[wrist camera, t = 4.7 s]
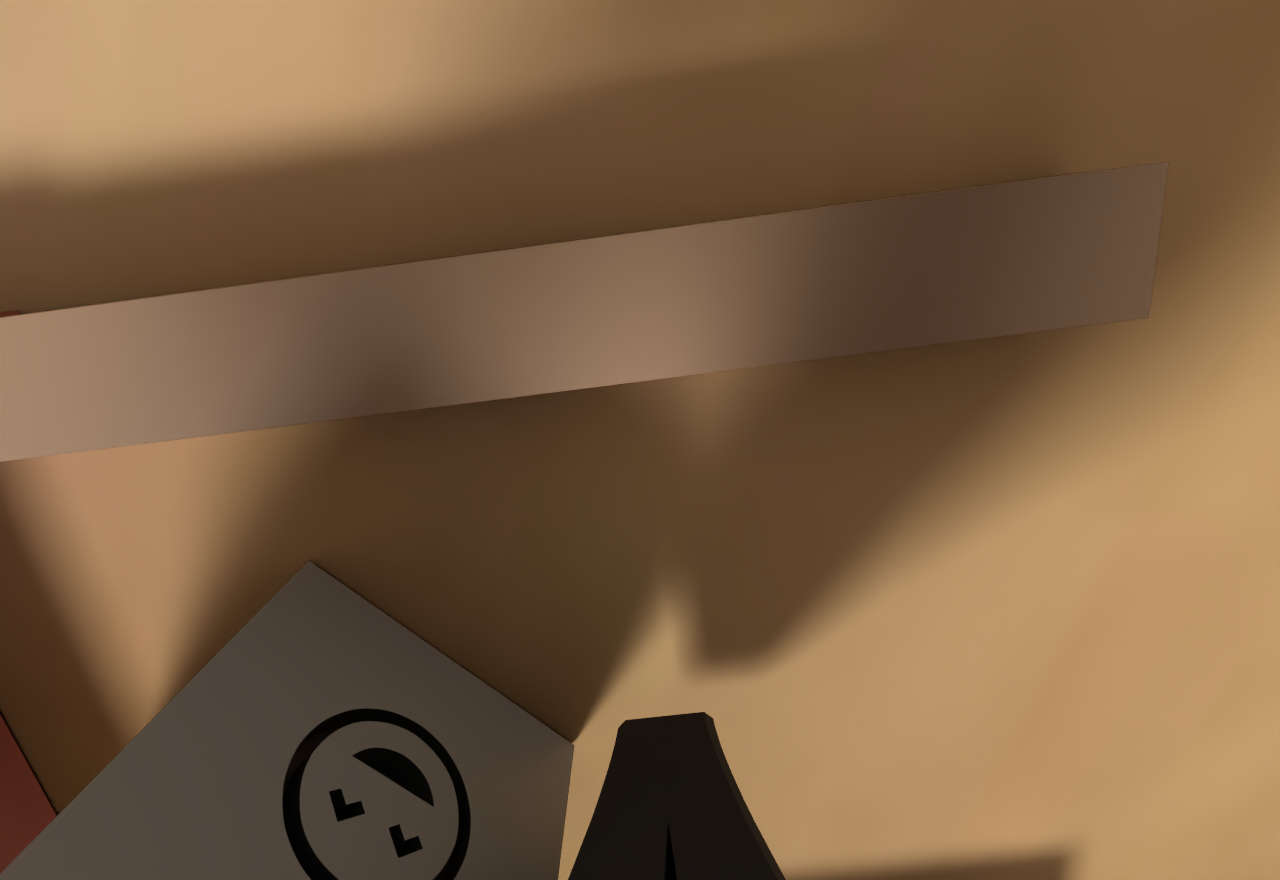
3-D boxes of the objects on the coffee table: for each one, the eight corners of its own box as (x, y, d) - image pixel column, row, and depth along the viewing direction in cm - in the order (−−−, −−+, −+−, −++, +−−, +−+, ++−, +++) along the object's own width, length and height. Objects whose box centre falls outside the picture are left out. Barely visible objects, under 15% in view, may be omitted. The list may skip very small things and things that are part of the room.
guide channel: (1068, 168, 7) (1332, 134, 5) (1001, 971, 12) (1116, 1202, 9) (-319, 355, 8) (-836, 424, 5) (111, 1051, 13) (-42, 1293, 10)
